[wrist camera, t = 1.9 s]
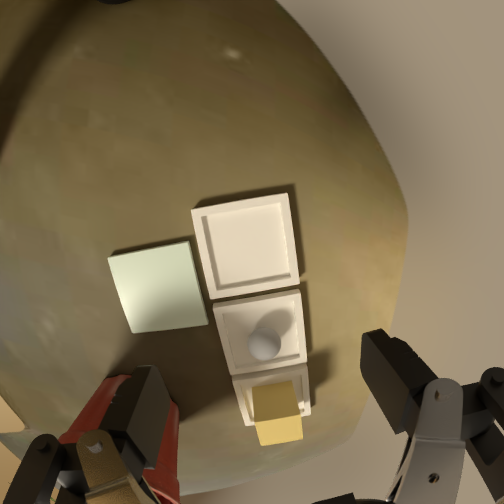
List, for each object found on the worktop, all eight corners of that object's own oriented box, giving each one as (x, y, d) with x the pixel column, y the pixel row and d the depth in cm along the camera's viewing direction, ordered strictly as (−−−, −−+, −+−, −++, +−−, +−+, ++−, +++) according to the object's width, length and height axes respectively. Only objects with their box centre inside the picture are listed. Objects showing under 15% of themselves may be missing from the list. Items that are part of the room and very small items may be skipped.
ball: (244, 324, 29) (245, 342, 26) (276, 318, 29) (281, 335, 26) (249, 350, 30) (251, 369, 26) (280, 345, 30) (285, 363, 26)
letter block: (251, 387, 31) (254, 422, 25) (292, 380, 31) (301, 414, 26) (257, 412, 33) (261, 445, 27) (295, 405, 33) (303, 438, 27)
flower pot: (216, 429, 34) (212, 522, 19) (130, 442, 35) (108, 515, 19) (154, 347, 30) (111, 454, 14) (68, 371, 31) (18, 446, 15)
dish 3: (232, 375, 31) (232, 381, 30) (305, 362, 31) (307, 368, 30) (245, 419, 34) (245, 425, 32) (308, 408, 34) (310, 414, 33)
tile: (110, 255, 27) (107, 257, 26) (189, 240, 27) (187, 242, 26) (134, 329, 29) (132, 333, 28) (208, 321, 29) (207, 324, 28)
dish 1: (192, 208, 26) (190, 209, 25) (285, 192, 26) (287, 193, 25) (211, 294, 28) (210, 299, 27) (297, 279, 29) (299, 283, 27)
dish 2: (213, 303, 29) (212, 308, 28) (298, 288, 29) (300, 292, 28) (230, 368, 31) (230, 375, 30) (305, 356, 31) (307, 361, 30)
